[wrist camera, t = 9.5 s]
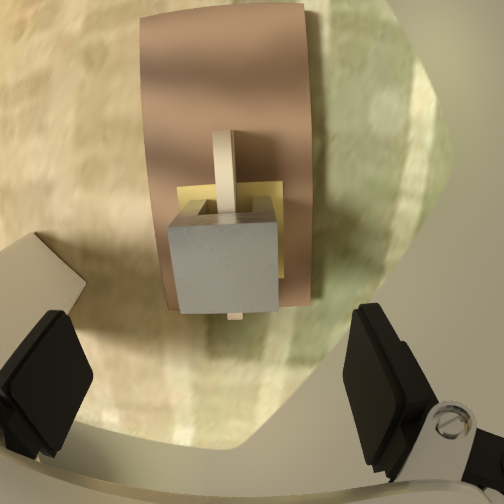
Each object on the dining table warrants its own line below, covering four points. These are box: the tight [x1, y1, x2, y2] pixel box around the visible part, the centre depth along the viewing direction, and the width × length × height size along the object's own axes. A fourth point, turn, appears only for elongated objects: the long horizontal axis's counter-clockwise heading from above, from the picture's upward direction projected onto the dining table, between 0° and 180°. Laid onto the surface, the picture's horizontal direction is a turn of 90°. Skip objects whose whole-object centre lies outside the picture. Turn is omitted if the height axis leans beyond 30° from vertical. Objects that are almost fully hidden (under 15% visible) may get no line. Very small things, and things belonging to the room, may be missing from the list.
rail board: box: [140, 3, 313, 320], centre depth 19 cm, size 22×11×4 cm, turn 3°
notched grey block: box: [167, 196, 279, 314], centre depth 19 cm, size 5×5×6 cm
